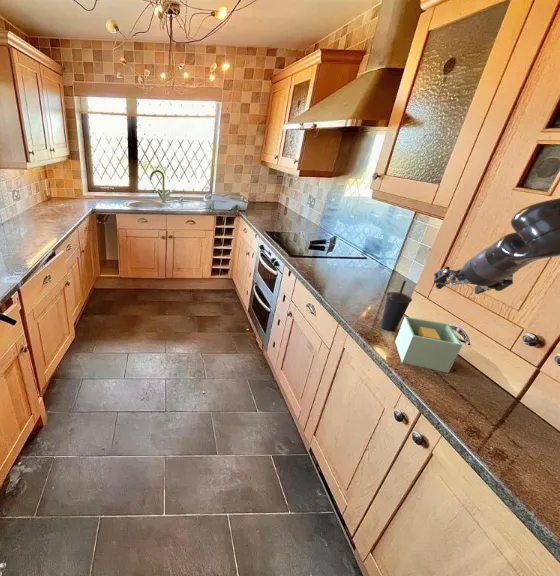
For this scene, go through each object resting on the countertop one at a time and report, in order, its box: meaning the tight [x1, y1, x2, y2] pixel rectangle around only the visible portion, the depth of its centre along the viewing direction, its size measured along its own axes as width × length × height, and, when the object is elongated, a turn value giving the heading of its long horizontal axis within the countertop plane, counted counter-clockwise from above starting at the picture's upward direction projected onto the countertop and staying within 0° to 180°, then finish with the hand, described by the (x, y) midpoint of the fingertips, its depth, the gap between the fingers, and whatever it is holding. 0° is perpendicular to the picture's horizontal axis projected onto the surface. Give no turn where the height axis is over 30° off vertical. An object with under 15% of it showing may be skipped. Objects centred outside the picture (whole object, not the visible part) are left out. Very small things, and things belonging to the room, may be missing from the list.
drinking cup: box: [380, 279, 413, 333], centre depth 112 cm, size 8×8×20 cm
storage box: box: [394, 316, 463, 374], centre depth 100 cm, size 12×12×11 cm
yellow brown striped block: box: [416, 327, 441, 340], centre depth 100 cm, size 4×6×9 cm
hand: (456, 288), depth 87 cm, fingers open, 8 cm apart
